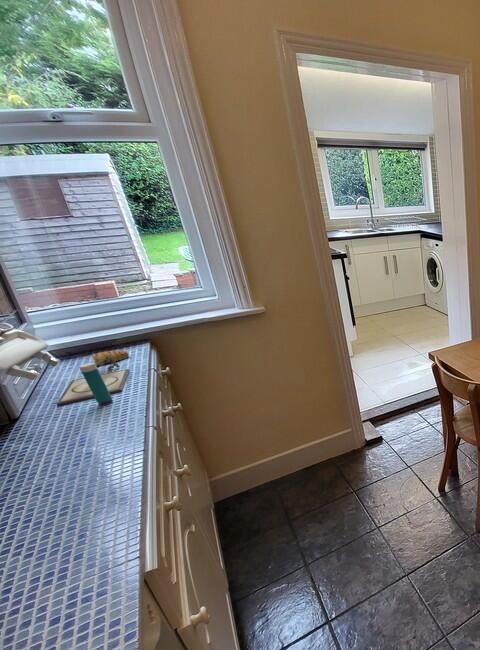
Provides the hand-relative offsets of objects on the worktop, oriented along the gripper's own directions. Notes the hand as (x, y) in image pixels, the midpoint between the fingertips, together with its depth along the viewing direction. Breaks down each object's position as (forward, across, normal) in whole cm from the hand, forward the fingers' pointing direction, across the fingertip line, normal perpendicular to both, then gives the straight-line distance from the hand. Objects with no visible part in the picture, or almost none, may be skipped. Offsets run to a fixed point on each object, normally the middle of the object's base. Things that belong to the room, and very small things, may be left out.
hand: (48, 370), depth 108 cm
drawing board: (+8, +17, +9) cm, 21 cm away
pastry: (+4, +43, +14) cm, 46 cm away
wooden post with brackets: (+6, +34, +12) cm, 36 cm away
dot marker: (+14, +2, +4) cm, 14 cm away
